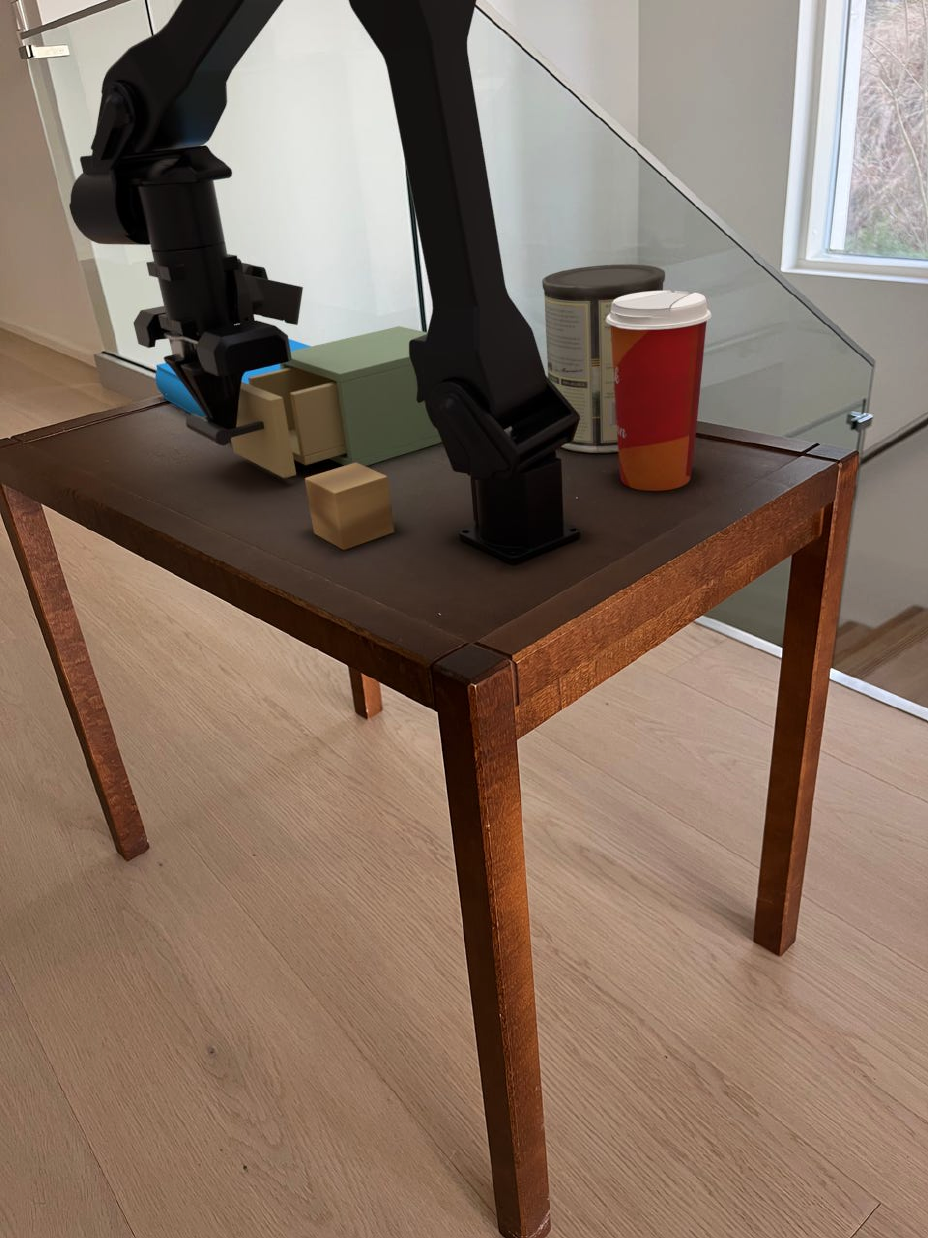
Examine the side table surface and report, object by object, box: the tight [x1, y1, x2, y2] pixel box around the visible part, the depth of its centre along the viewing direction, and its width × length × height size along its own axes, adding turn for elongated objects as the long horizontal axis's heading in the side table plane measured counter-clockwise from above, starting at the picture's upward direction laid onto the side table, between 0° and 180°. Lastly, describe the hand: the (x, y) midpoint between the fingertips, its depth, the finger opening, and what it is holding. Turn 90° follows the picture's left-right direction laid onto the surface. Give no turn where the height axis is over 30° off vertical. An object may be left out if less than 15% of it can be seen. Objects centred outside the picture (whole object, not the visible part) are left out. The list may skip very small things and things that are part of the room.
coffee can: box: [541, 264, 666, 454], centre depth 84 cm, size 10×10×14 cm
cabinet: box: [280, 325, 442, 467], centre depth 90 cm, size 14×12×9 cm
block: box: [304, 463, 395, 551], centre depth 71 cm, size 4×4×4 cm
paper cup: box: [606, 290, 712, 492], centre depth 73 cm, size 8×8×14 cm
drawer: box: [185, 367, 347, 479], centre depth 85 cm, size 17×10×7 cm, turn 127°
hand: (228, 436), depth 82 cm, fingers closed, pressing on drawer
